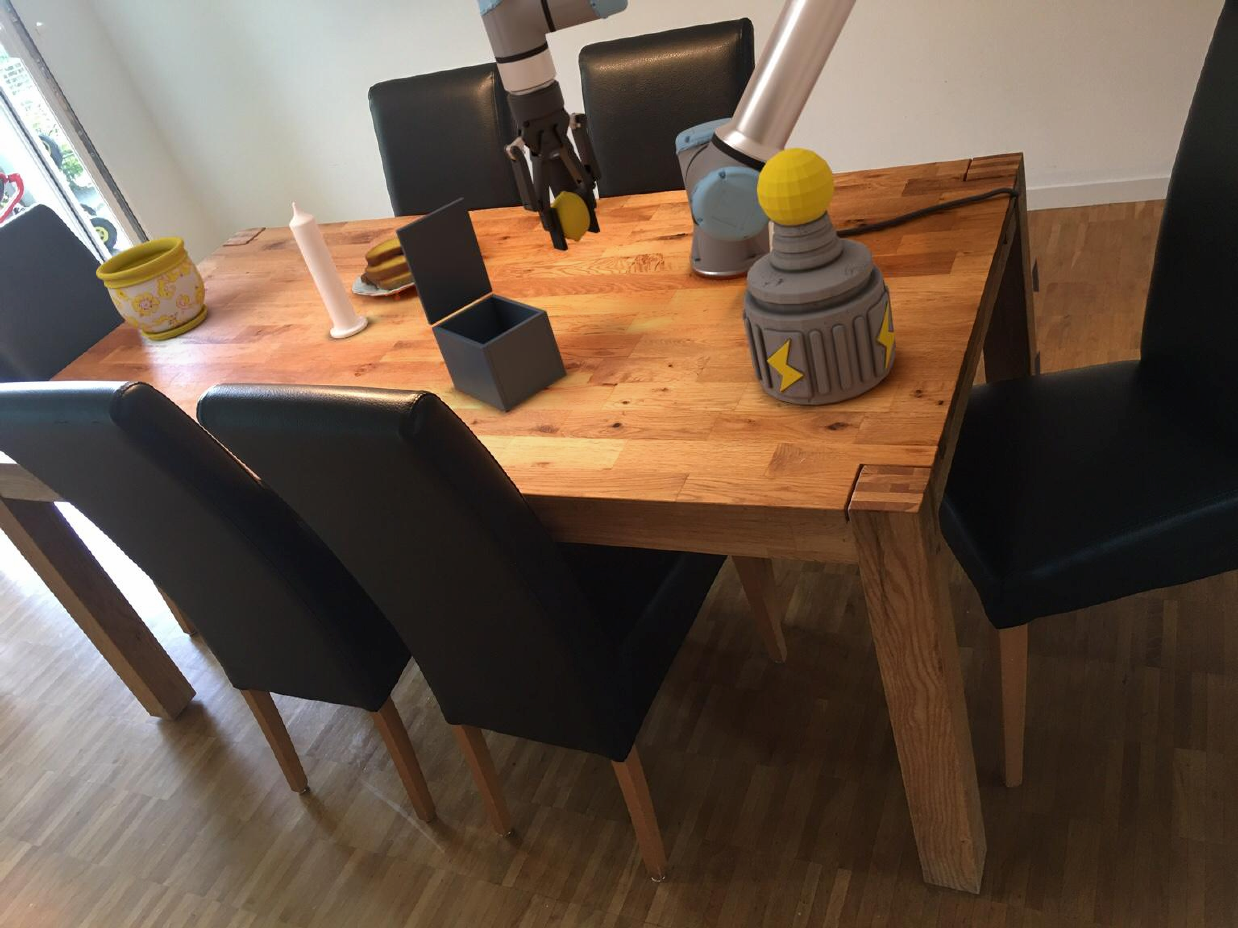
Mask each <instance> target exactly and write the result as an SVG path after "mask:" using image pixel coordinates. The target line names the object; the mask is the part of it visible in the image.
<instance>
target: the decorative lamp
mask: <svg viewBox="0 0 1238 928" xmlns="http://www.w3.org/2000/svg"><path fill="white" fill-rule="evenodd" d="M834 193H835V182H834V175H833V171H832V169H831V167H830V165H829V163H828V162H827V161H826V160H825V159H824V158H823V157H822V156H820V155H819V154H818V153H816V152H815V150H811V149H806V148H802V147H791V148H785V150H783V151H781V152H779V153H778V154H776V155H775V156H774V157H772V158H771V159H770V160H768V162H767V163H766V164H765V166H764V168H763V169H762V171H761V173H760V174H759V180H758V186H757V194H758V199H759V204H760V206H761V207H762V209H763V210H764V212H765V214H766V215H767V216H768V217H769V218H770V219H772V220H773V221H774V226H773V231H774V232H775V233H774V234H773V238H772V247H773V249H772V250H771V252H770V253H768V254H766V255H765V256H763V257H762V258H761V259H759V260H758V261H756V262H755V263H754V264H753V266H752V267H751V268H750V270H749V271H748V275H747V276H746V285H747V290H746V291H745V293H744V296H743V309H742V310H741V312H742V313H741V315H742V319H743V320H742V321H743V323H744V324H743V325H744V330H745V334H746V339H747V345H748V348H749V353H750V358H751V363H752V368H753V371H754V375H755V378H756V380H757V381H759V383H760V386H761V387H762V389H763V390H764V392H765V393H766V394H768V395H770V396H771V397H773V398H774V399H777V400H778V401H781V402H785V403H790V404H793V405H798V406H821V405H828V404H836V403H840V402H843V401H847V400H849V399H853V398H856V397H859V396H861V395H862V394H865V393H866V392H868V391H870V390H872V389H874V388H875V387H876V386H877V385H878V384H879V383H881V382H882V381H883V379H885V378H886V377H887V376H888V375H889V373H890V371H891V369H892V367H893V365H894V360H895V359H896V345H897V344H896V336H897V335H896V334H897V333H896V332H895V327H894V320H893V313H892V312H893V311H892V303H891V295H890V288H889V286H888V285H887V284H886V280H885V279H884V277H883V272H882V271H883V270H882V269H881V268H880V267H878V266H877V265H876V264H875V263H874V260H873V254H872V251H871V249H869V247H867V246H866V245H865V244H864V243H863V242H859V241H856V240H853V239H851V238H842V237H840V236H837V235H836V231H837V229H836V227H835V225H834V223H833V222H832V221H831V216H830V214H829V212H828V208H829V207H830V205H831V204H832V202H833V198H834Z"/></svg>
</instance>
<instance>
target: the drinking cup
mask: <svg viewBox="0 0 1238 928" xmlns="http://www.w3.org/2000/svg"><path fill="white" fill-rule="evenodd" d="M573 149H574V150H575V147H574V145H573ZM549 155H550V161H549V162H548V171H549V189H550V191H551V194H552V196H553V199H554V200H555V199H556V197H557V196H559V195H560V194H561V192H562V191H566V192H571V193H574V194H575V191H576V190H577V189H580V187H579V186H578V185H577V183H576V182H575V180H574V178H573V177H572V175H571V173H570V172H569V170H568V168H567V167H566V165H565V163H564V161H563V160H562V158H561V156H560V155H559V153H558V152H557V151H556V150H554V151H553V152H551V153H550V154H549Z"/></svg>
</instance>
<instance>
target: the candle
mask: <svg viewBox="0 0 1238 928" xmlns="http://www.w3.org/2000/svg"><path fill="white" fill-rule="evenodd" d="M291 205H292V209H293V210H292V211H293V217H292V218H291V220H290V222H289V224H288V226H289V228H290V231H291V233H292V235H293V237H294V239H295V242H296V244H297V246H298V248H299V251H300V252H301V255H302V258H303V260H304V261H305V263H306V266H307V269H308V270H309V272H310V275H311V277H312V279H313V281H314V284H315V286H316V288H317V290H318V292H319V295H320V297H321V299H322V301H323V303H324V305H325V308H326V310H327V312H328V314H329V317H330V319H331V321H332V323H333V327H331V329H330V331H329V333H330V336H331V337H332V338H333V339H346V338H349V337H352V336H354V335H356V334H358V333H360V332H361V331H363V330H365V328H366V327H367V325H368V319H367V318H366V317H365V316H358V314H357V312H356V310H355V308H354V305H353V303H352V301H351V299H350V296H349V293H348V292H347V289H346V287H345V284H344V282H343V280H342V278H341V277H342V276H341V275H340V273H339V270H338V268H337V266H336V264H335V261H334V260H333V257H332V255H331V253H330V250H329V248H328V245H327V243H326V241H325V239H324V237H323V234H322V232H321V230H320V227H319V225H318V223H317V221H316V218H315V216H314V215H312V214H309V213H306V212H304V211H302V210H301V209H300V207H299V206H298V204H297V203H296V202H292V204H291Z"/></svg>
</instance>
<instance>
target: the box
mask: <svg viewBox="0 0 1238 928" xmlns="http://www.w3.org/2000/svg"><path fill="white" fill-rule="evenodd" d="M431 330H432V333H433V335H434V338H435V342H436V344H437V346H438V348H439V351H440V354H441V356H442V359H443V361H444V363H445V366H446V368H447V371H448V374H449V377H450V379H451V381H452V384H453V386H454V389H455V390H458V391H460V392H462V393H463V394H466V395H468V396H470V397H472V398H475V399H476V400H478V401H480V402H483V403H484V404H487V405H489V406H491V407H494V408H496V409H498V410H500V411H502V412H504V413H507V412H509V411H512V409H515V407H518V406H519V405H521V404H523V402H525V401H527V400H529V399H530V398H532V397H533V396H535V395H536V394H538V393H540V392H541V391H543V390H545V389H546V388H547V387H549V386H551V385H553V384H554V383H556V382H557V381H559V380H561V379H563V378H564V377H566V376H567V375H568V374H567V370H566V366H565V363H564V361H563V357H562V355H561V352H560V348H559V346H558V342H557V340H556V336H555V334H554V330H553V327H552V324H551V320H550V318H549V314H548V312H547V310H545V309H542V308H539V307H537V306H533V305H529V304H527V303H523V302H520V301H517V300H514V299H511V298H508V297H506V296H503V295H498V294H496V293H490V294H488V295H486V297H483V298H481V299H479V300H477V302H474V303H473V304H472V305H471V304H470V305H468V306H467V307H465V308H463V309H461V310H460V311H459V312H457V313H454V314H452V316H450V317H447V318H445V319H443V321H441V322H439V323H436V325H434V326H432V327H431Z"/></svg>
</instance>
